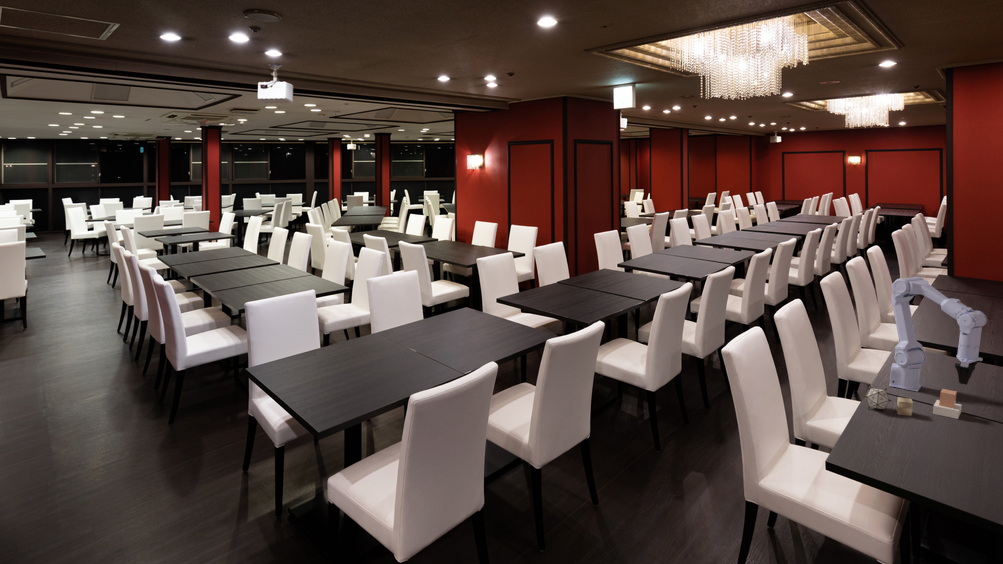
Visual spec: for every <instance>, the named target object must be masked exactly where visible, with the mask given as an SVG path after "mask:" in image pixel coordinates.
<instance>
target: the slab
mask: <svg viewBox="0 0 1003 564" xmlns="http://www.w3.org/2000/svg"><path fill="white" fill-rule="evenodd" d="M939 402H940V399H936V401H935V403H934V404H933V406H932V407H933V409H932V414H933V415H938V416H942V417H946V418H951V419H956V420H959V417H960V415H961V414H962V407H963V406H962V404H960V403H956V402H955V406H954V408H949V407H945V406H940V405H939Z"/></svg>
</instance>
